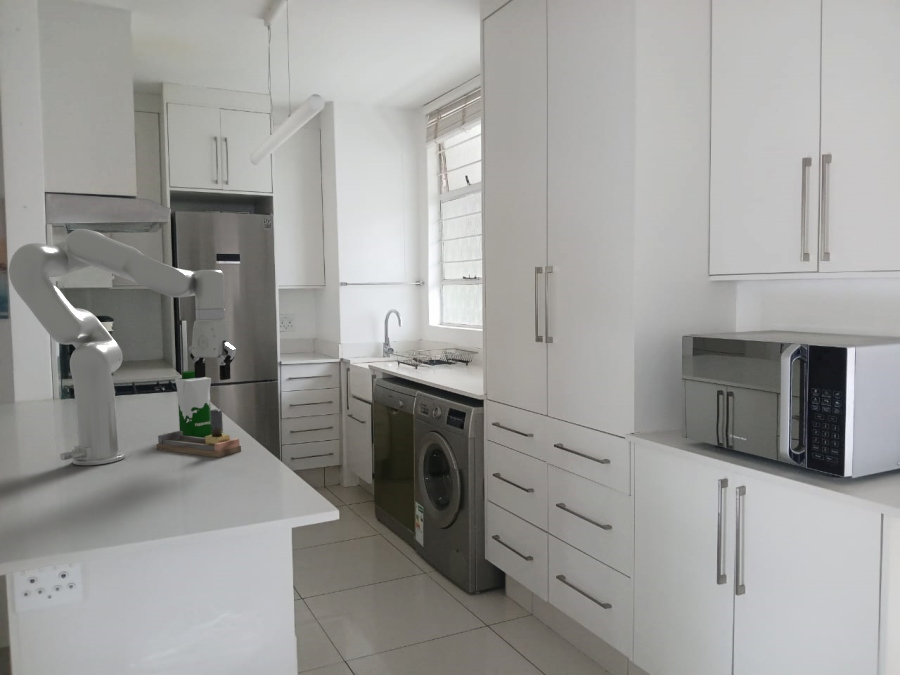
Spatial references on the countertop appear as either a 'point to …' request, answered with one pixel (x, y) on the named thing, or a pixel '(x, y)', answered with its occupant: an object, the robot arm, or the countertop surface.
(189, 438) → the rail base
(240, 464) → the countertop surface
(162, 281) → the robot arm
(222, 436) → the slider
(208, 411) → the milk carton
